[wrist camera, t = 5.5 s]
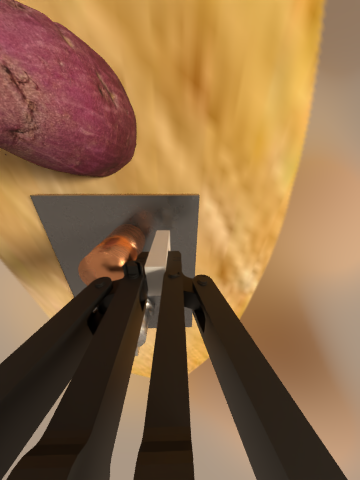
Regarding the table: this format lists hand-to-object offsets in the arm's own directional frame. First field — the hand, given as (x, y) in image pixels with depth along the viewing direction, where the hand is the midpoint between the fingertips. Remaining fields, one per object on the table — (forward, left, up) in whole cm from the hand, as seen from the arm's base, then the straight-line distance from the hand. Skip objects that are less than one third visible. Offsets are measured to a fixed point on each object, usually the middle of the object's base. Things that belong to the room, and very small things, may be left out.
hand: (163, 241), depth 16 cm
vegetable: (-12, -8, -5) cm, 15 cm away
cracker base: (+8, -6, -5) cm, 11 cm away
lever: (+9, -5, -2) cm, 11 cm away
